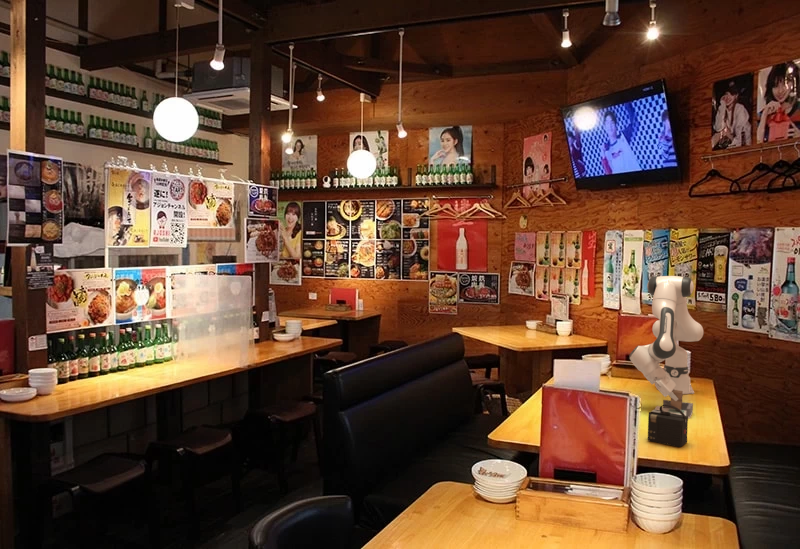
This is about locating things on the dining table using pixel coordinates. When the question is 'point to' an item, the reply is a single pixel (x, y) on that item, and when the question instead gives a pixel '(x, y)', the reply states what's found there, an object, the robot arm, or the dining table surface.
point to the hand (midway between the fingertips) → (678, 398)
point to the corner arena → (686, 409)
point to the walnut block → (679, 402)
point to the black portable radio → (667, 427)
